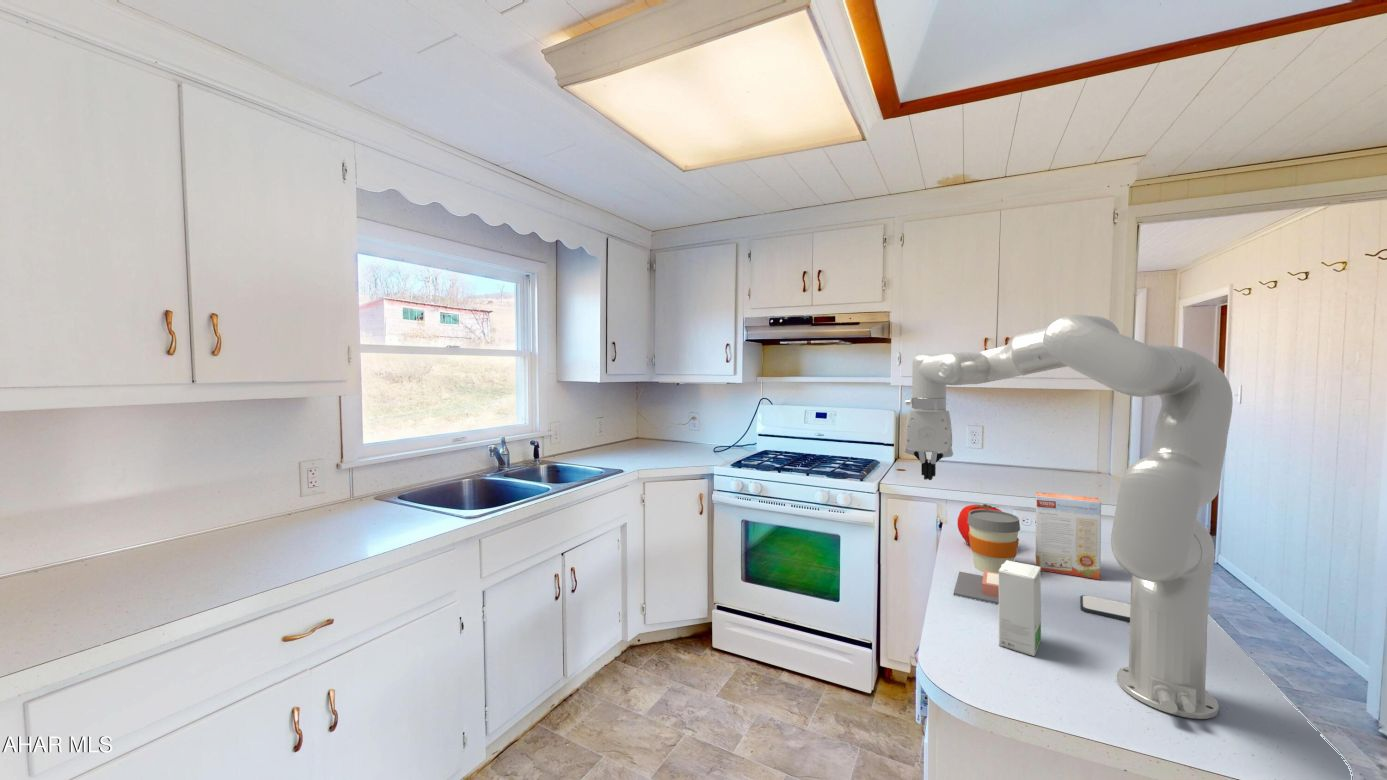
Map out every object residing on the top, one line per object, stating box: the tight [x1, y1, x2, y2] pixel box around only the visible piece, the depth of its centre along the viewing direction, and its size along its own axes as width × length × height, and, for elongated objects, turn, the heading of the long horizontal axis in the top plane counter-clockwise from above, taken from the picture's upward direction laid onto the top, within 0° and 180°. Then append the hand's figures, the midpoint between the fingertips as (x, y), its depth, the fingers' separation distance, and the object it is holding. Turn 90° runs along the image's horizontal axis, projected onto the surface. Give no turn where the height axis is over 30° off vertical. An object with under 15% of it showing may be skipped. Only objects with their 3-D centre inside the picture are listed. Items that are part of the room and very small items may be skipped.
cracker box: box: [1035, 491, 1102, 580], centre depth 135 cm, size 14×6×21 cm, turn 58°
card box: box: [982, 571, 999, 597], centre depth 124 cm, size 9×3×7 cm
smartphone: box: [1079, 594, 1130, 624], centre depth 112 cm, size 9×2×16 cm
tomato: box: [957, 503, 1002, 545], centre depth 155 cm, size 16×14×14 cm
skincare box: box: [998, 560, 1042, 657], centre depth 101 cm, size 8×7×16 cm
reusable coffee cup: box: [967, 510, 1021, 573], centre depth 138 cm, size 13×13×15 cm
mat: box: [953, 571, 999, 605], centre depth 125 cm, size 15×15×1 cm
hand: (928, 478), depth 122 cm, fingers closed
